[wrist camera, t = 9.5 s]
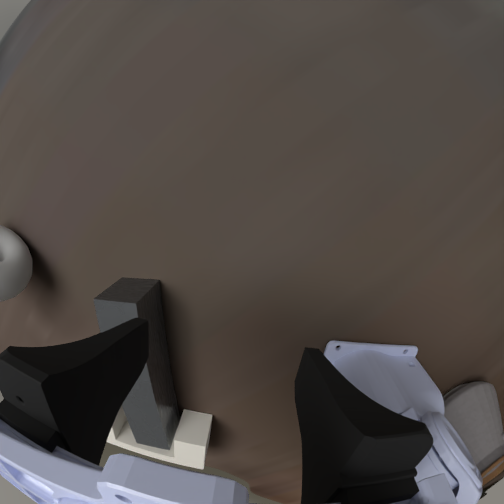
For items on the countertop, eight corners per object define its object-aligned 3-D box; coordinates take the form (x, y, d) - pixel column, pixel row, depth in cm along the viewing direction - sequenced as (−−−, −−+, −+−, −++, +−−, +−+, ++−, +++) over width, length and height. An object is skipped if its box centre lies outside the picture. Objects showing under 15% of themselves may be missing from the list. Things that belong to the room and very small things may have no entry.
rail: (160, 278, 22) (135, 303, 17) (180, 416, 26) (169, 450, 21) (123, 276, 22) (93, 298, 17) (150, 411, 26) (136, 443, 21)
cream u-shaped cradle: (212, 414, 25) (205, 446, 21) (209, 439, 27) (203, 469, 22) (102, 385, 25) (84, 410, 21) (108, 412, 27) (93, 436, 22)
